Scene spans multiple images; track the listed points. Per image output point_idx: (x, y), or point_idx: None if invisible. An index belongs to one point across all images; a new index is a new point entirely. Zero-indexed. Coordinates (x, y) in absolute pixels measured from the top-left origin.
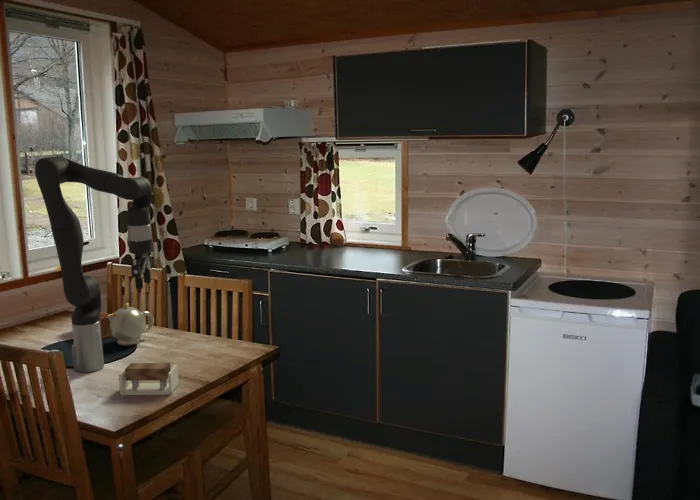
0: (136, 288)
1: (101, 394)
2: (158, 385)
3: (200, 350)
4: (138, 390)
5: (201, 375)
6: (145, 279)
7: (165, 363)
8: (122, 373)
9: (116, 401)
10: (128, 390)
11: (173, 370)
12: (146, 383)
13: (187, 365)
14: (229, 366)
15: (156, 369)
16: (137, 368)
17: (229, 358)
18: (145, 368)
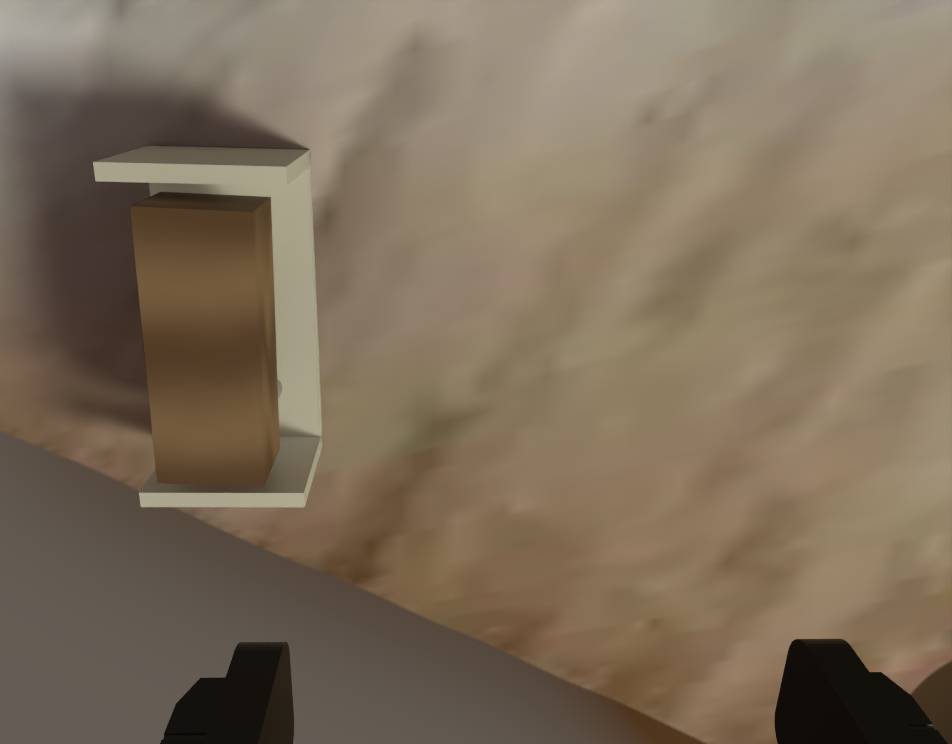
0: (241, 648)
1: (149, 6)
2: (277, 349)
3: (872, 443)
4: None
5: (453, 530)
6: (820, 707)
7: (255, 459)
8: (125, 181)
9: (52, 152)
10: (191, 187)
11: (210, 504)
12: (307, 268)
13: (619, 424)
14: (574, 637)
15: (154, 425)
16: (144, 297)
17: (697, 618)
18: (149, 354)
